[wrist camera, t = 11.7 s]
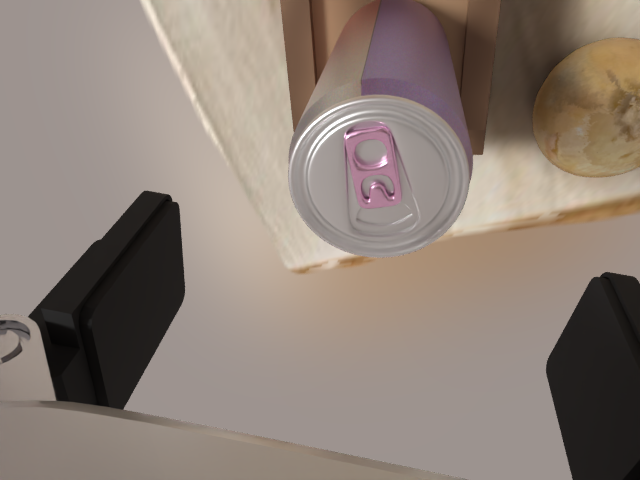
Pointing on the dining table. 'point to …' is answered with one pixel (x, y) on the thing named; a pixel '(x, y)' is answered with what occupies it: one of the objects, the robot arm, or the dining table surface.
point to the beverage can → (383, 136)
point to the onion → (592, 110)
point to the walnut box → (450, 9)
